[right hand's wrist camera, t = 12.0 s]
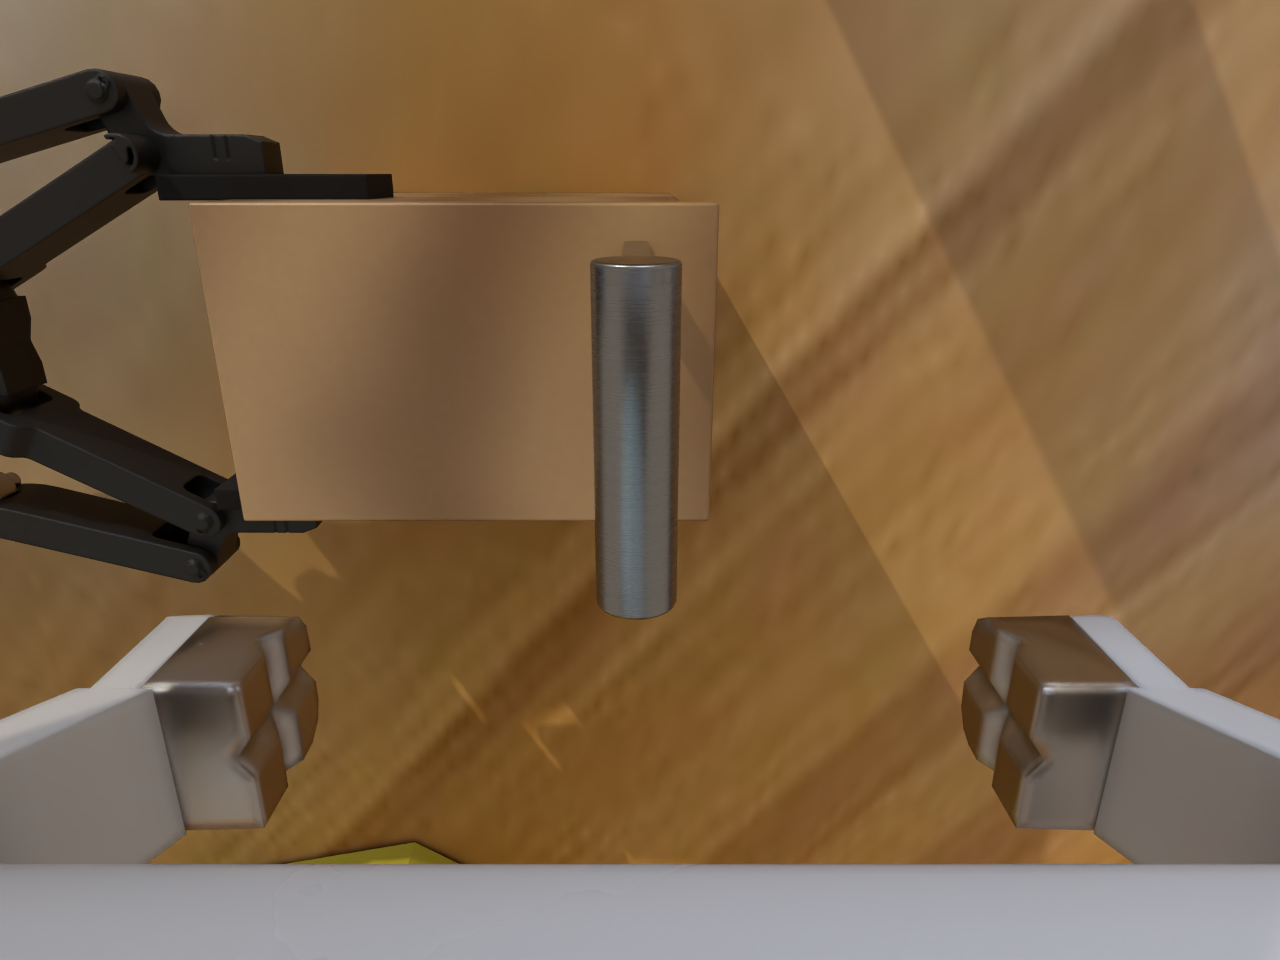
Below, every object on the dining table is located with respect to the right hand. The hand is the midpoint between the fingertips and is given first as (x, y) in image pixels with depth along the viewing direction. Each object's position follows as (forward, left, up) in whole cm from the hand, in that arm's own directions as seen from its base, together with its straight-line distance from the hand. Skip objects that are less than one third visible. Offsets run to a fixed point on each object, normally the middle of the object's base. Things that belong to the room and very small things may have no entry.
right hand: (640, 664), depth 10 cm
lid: (+3, +4, -17) cm, 18 cm away
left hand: (+5, +7, -20) cm, 22 cm away
